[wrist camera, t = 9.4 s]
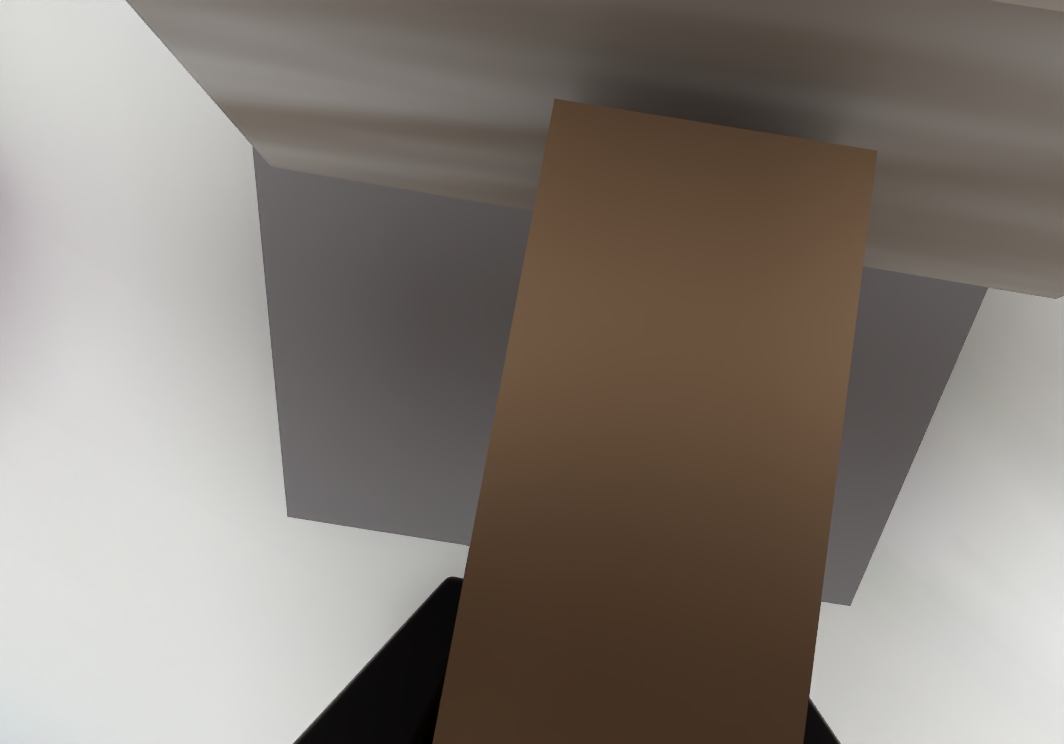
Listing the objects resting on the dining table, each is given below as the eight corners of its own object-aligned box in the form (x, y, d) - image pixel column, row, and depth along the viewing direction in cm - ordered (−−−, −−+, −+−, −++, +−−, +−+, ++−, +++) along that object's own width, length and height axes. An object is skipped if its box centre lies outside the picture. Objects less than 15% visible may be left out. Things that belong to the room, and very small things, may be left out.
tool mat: (845, 589, 22) (850, 605, 21) (295, 503, 23) (287, 516, 22) (1248, -366, 11) (1276, -380, 11) (213, -448, 12) (194, -465, 12)
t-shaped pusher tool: (986, 1078, 10) (1652, 1981, 4) (96, 889, 10) (-502, 1431, 4) (1063, 202, 12) (1615, -94, 6) (293, 77, 12) (45, -317, 6)
